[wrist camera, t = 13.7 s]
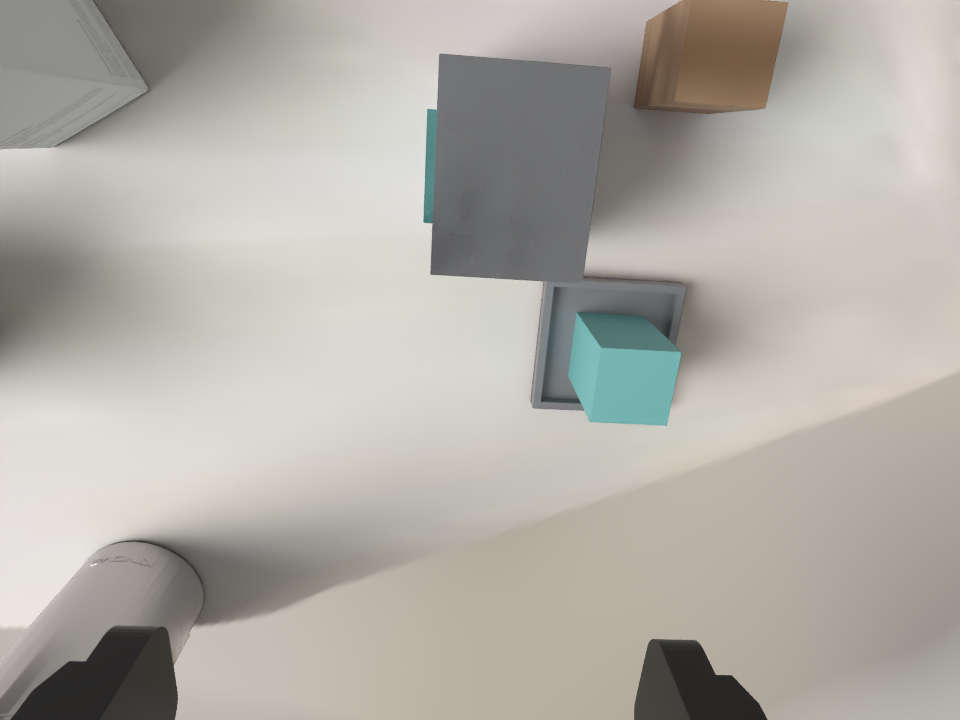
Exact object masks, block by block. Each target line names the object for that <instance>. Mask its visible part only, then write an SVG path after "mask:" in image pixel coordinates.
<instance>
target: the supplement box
mask: <svg viewBox="0 0 960 720" xmlns="http://www.w3.org/2000/svg"><path fill="white" fill-rule="evenodd" d="M148 90H149V88H148V87H147V85H146V83H145V82H144V80H143V79H142V77H141V75H140V74H139V72H138V71H137V69H136V67H135V66H134V64H133V63H132V61H131V60H130V58H129V57H128V55H127V53H126V52H125V50H124V49H123V47H122V45H121V44H120V42H119V41H118V39H117V38H116V36H115V34H114V33H113V31H112V30H111V28H110V27H109V25H108V23H107V22H106V20H105V19H104V17H103V16H102V14H101V12H100V11H99V9H98V8H97V6H96V5H95V3H94V1H93V0H0V149H13V148H52V147H54V146H55V145H57V144H59V143H61V142H63V141H64V140H66V139H68V138H70V137H72V136H73V135H75V134H77V133H78V132H80V131H82V130H83V129H85V128H87V127H88V126H90V125H92V124H93V123H95V122H97V121H98V120H100V119H102V118H103V117H105V116H107V115H109V114H110V113H112V112H114V111H115V110H117V109H119V108H120V107H122V106H124V105H125V104H127V103H129V102H130V101H132V100H134V99H135V98H137V97H139V96H140V95H142V94H144V93H145V92H147V91H148Z"/></svg>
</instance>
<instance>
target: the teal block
mask: <svg viewBox="0 0 960 720" xmlns="http://www.w3.org/2000/svg"><path fill="white" fill-rule="evenodd" d="M681 353H682V352H681V351H680V350H679V349H678V348H677V347H676V346H675V345H674V344H673V343H671V342H670V341H669V340H668V339H667V338H666V337H665V336H664V335H663V334H662V333H661V332H660V331H659V330H658V329H657V328H656V327H655V326H654V325H653V324H651V323H650V322H649V321H648V320H647V319H646V318H645V317H644V316H633V315H616V314H599V313H582V312H576V320H575V327H574V335H573V342H572V350H571V357H570V365H569V372H568V377H569V379H570V381H571V383H572V385H573V387H574V389H575V391H576V394H577V396H578V398H579V400H580V402H581V404H582V406H583V408H584V411H585V413H586V415H587V417H588V419H589V421H590V422H602V423H623V424H644V425H665V426H667V422H668V417H669V412H670V407H671V403H672V398H673V393H674V388H675V383H676V378H677V373H678V368H679V363H680V358H681Z"/></svg>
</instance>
